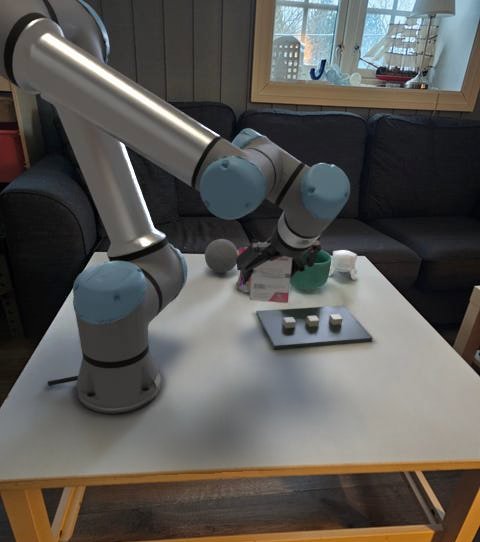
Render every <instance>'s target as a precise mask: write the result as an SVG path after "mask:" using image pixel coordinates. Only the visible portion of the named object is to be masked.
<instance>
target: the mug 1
mask: <svg viewBox="0 0 480 542" xmlns="http://www.w3.org/2000/svg"><path fill="white" fill-rule="evenodd" d="M248 247H249V246H244V247H241V248H239V249H238V248H237V252H236V254H237V257H238V256H239V255H240V254H241V253H242V252H243V251H244V250H245V249H247V248H248ZM250 284H251V276H250V278H249V280H248V281H247V282H244V279H243V274H242V271H241V270H239V276H238V278H237V280H236V283H235V286H236V288H237V289H238V290H240V291H241V292H243V293H250Z"/></svg>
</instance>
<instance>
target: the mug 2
mask: <svg viewBox="0 0 480 542" xmlns="http://www.w3.org/2000/svg"><path fill="white" fill-rule="evenodd" d="M306 254H307V252H306V253H305V254H304V255H302V256H303V258H304V257H306ZM292 259H293V258H292ZM331 262H332V256H331V254H330V253H328V252H327V251H325V250H323V249H321V250H320V251H319V252H318V253H317V255H316V259H315V262H314V265H313V266H312V267H308V265H306V266H304V267H305V271H303V272H300V271H298V272H296V273H295V274H294V275H293V276H292V277H291V279H290V285H291V286H293V287H294V288H296V289H298V290H301V291H313V290H317V289H320V288H322V287H323V286H324V285H325V284H326V283H327V281H328V279H329V277H330V276H329V272H330V268H331Z"/></svg>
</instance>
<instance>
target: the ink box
mask: <svg viewBox="0 0 480 542" xmlns="http://www.w3.org/2000/svg"><path fill="white" fill-rule="evenodd" d="M291 267H292V258H291V257H286V256H283V257H279V258H277V259H275V260H273V261H269V260H268V261H266V262H265V263H263V264H261V265H259V266H257V267H255V268H253V273H252V275H251V284H250V292H249V300H250V301H258V302H270V303H283V304H288V302H289V297H290V296H289V295H290V285H291V284H290V278H291Z"/></svg>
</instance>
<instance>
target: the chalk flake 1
mask: <svg viewBox="0 0 480 542" xmlns="http://www.w3.org/2000/svg"><path fill="white" fill-rule="evenodd" d="M319 321H320V320H319V319H318V317H317V316H307V319H306V322H307V324H308V325H309V327H311V326H319Z"/></svg>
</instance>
